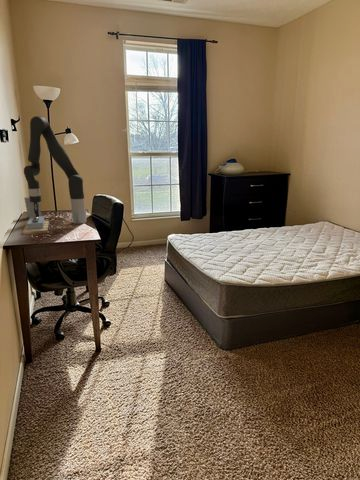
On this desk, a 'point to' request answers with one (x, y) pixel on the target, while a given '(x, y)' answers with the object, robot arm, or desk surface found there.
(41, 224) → the panel
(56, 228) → the desk surface
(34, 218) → the bosses
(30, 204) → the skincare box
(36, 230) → the board
